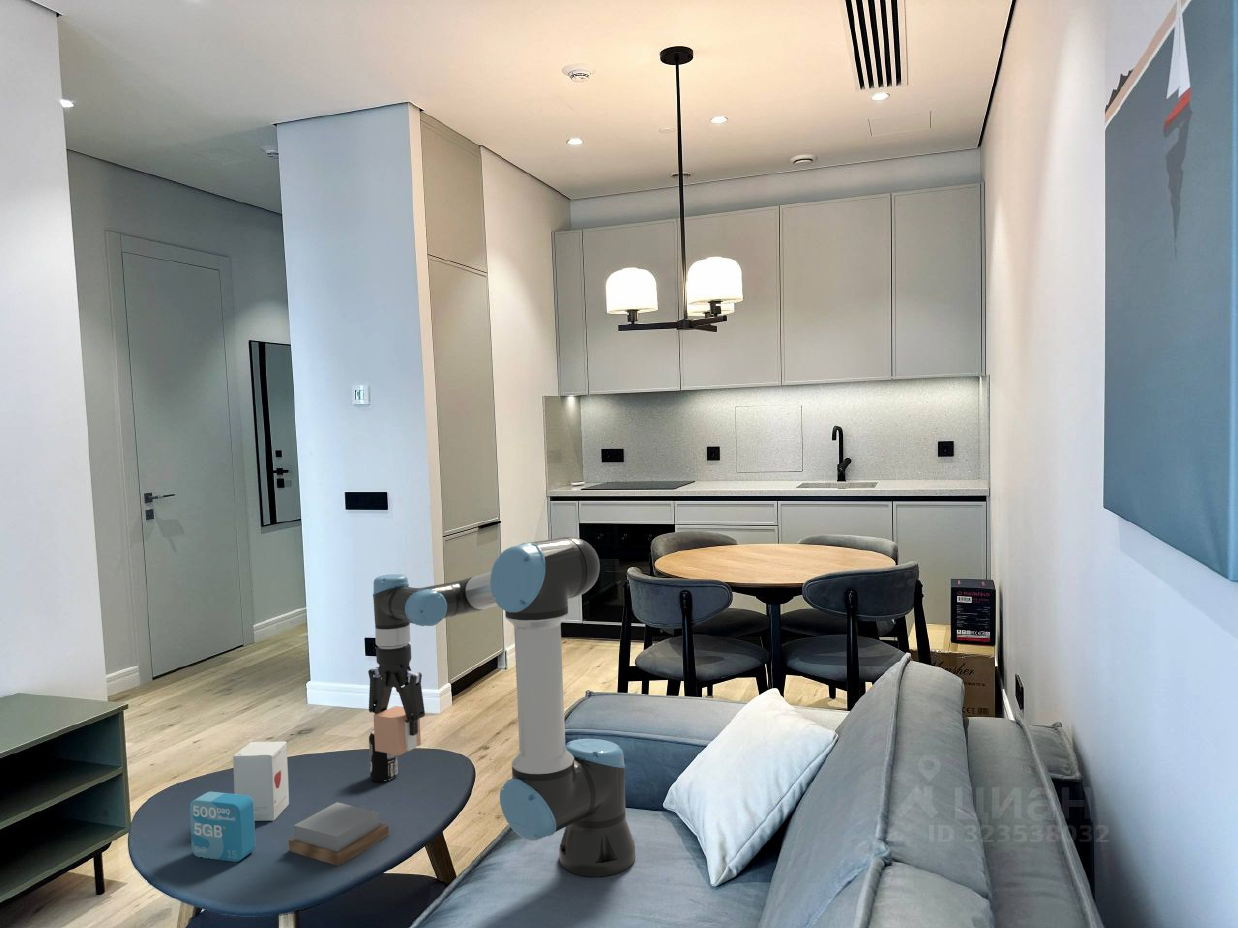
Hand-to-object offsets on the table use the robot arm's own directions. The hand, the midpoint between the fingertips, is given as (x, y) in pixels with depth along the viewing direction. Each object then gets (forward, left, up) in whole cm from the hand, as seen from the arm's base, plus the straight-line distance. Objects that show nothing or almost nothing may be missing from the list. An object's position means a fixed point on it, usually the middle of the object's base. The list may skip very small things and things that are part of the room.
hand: (398, 746), depth 195 cm
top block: (+2, +16, -13) cm, 21 cm away
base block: (+2, +16, -16) cm, 23 cm away
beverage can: (+18, -14, -16) cm, 28 cm away
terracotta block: (0, 0, 0) cm, 0 cm away
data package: (+20, +30, -16) cm, 39 cm away
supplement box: (+29, +13, -16) cm, 36 cm away
